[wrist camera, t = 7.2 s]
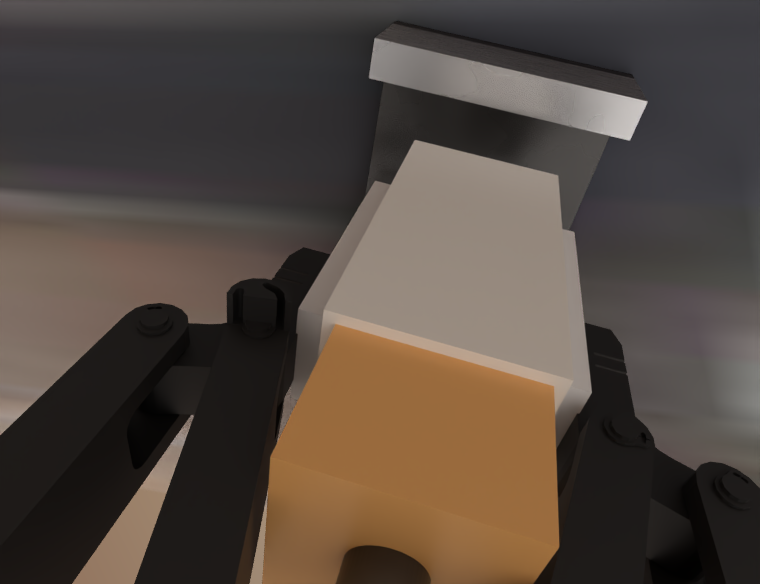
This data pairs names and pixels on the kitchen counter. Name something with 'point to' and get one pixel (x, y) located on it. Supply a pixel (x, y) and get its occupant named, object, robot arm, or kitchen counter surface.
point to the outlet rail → (497, 106)
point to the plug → (433, 390)
